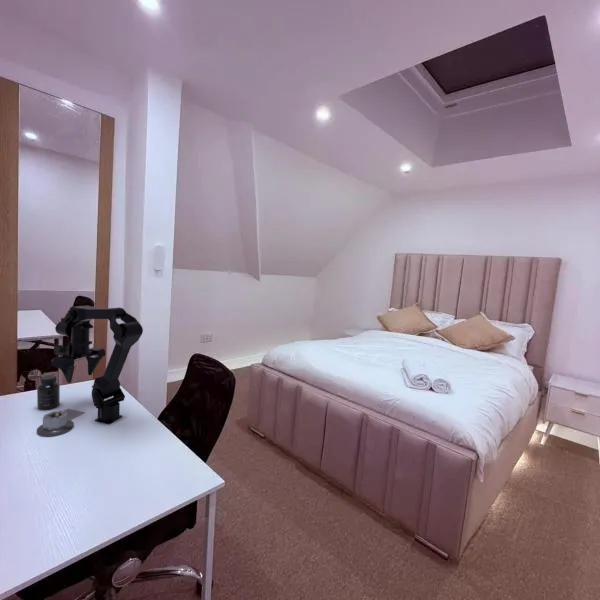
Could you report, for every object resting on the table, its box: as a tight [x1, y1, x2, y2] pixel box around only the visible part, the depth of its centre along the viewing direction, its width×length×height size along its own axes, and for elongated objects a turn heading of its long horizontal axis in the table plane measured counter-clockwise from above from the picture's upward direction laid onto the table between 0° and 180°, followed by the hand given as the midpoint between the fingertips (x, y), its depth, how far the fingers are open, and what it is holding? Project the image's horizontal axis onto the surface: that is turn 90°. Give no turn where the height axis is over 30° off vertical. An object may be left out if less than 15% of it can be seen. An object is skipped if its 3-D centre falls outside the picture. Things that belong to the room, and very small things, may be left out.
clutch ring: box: [42, 410, 68, 432], centre depth 110 cm, size 6×6×4 cm
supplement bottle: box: [36, 374, 61, 411], centre depth 124 cm, size 7×7×12 cm
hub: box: [36, 417, 75, 438], centre depth 110 cm, size 10×10×4 cm
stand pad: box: [64, 408, 87, 421], centre depth 120 cm, size 8×8×1 cm
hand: (79, 378), depth 124 cm, fingers open, 9 cm apart
